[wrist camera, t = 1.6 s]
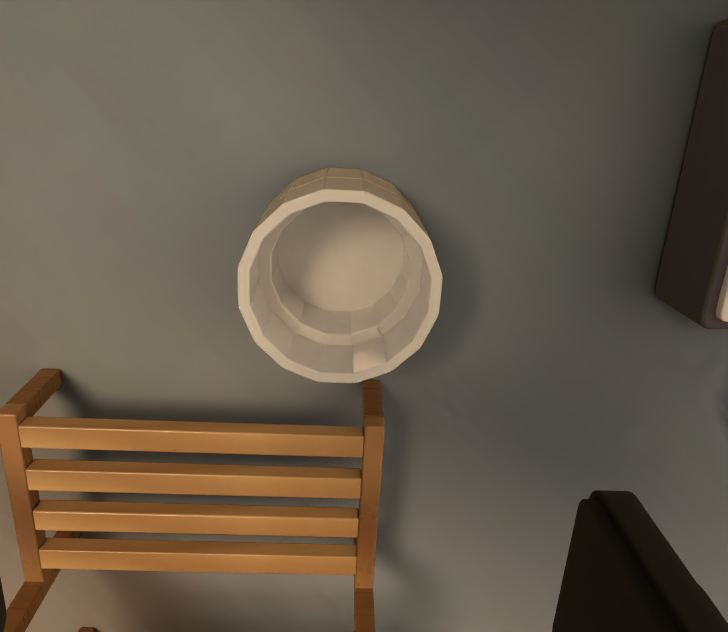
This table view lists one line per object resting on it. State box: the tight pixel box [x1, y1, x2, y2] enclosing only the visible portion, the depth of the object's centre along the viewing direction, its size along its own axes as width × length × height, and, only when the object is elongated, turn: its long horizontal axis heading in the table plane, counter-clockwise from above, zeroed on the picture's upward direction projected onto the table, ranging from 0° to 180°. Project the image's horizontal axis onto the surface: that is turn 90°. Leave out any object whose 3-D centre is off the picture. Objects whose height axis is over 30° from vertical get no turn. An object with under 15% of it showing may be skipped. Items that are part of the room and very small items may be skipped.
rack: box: [0, 369, 385, 632], centre depth 26 cm, size 16×15×10 cm
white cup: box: [237, 168, 443, 383], centre depth 23 cm, size 7×7×6 cm
